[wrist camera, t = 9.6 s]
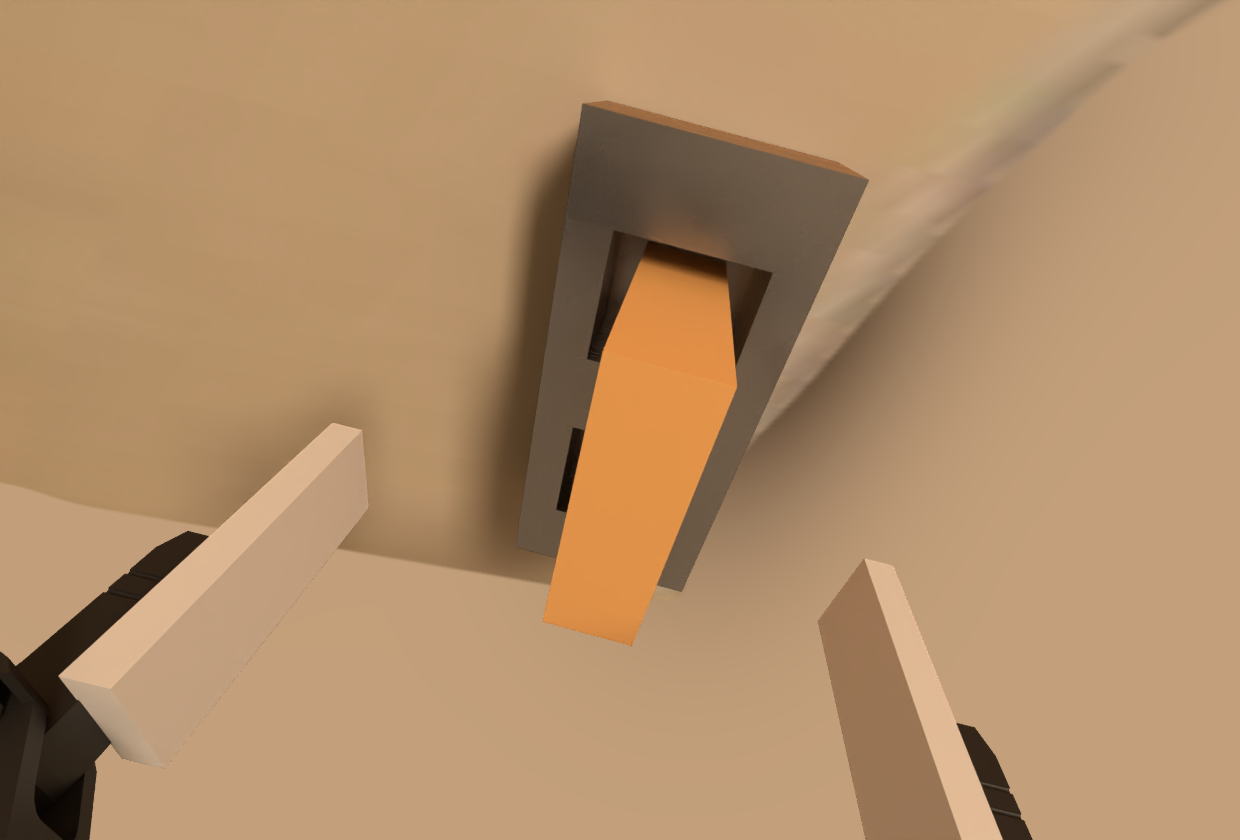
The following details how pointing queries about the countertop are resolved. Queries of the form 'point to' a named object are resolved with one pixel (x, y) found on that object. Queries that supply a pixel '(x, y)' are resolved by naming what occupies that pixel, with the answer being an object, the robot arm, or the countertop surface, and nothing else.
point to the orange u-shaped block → (644, 442)
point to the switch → (693, 223)
